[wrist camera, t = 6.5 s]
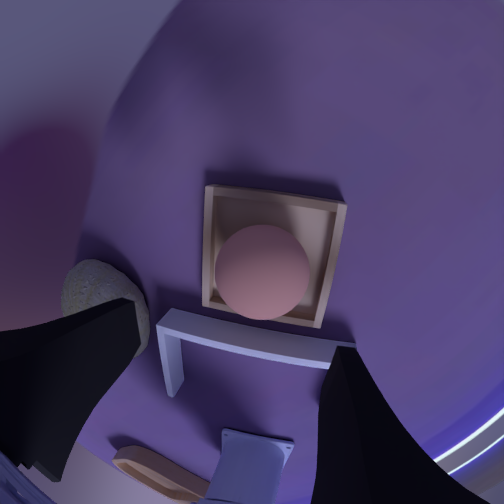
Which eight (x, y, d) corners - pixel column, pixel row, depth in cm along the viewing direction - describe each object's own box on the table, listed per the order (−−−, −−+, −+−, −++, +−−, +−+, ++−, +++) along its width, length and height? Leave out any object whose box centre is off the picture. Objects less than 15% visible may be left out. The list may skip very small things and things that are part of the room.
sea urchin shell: (76, 231, 18) (71, 320, 13) (157, 255, 24) (175, 334, 19) (56, 296, 22) (56, 370, 17) (122, 309, 27) (133, 376, 22)
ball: (302, 298, 17) (298, 346, 12) (227, 285, 18) (200, 327, 13) (315, 222, 15) (319, 250, 11) (231, 210, 16) (201, 232, 12)
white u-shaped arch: (326, 410, 21) (325, 431, 18) (178, 378, 23) (167, 395, 21) (355, 343, 18) (359, 366, 16) (171, 307, 20) (155, 324, 18)
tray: (320, 318, 18) (320, 328, 17) (208, 297, 19) (202, 305, 18) (344, 201, 15) (347, 205, 14) (212, 183, 16) (205, 186, 15)
